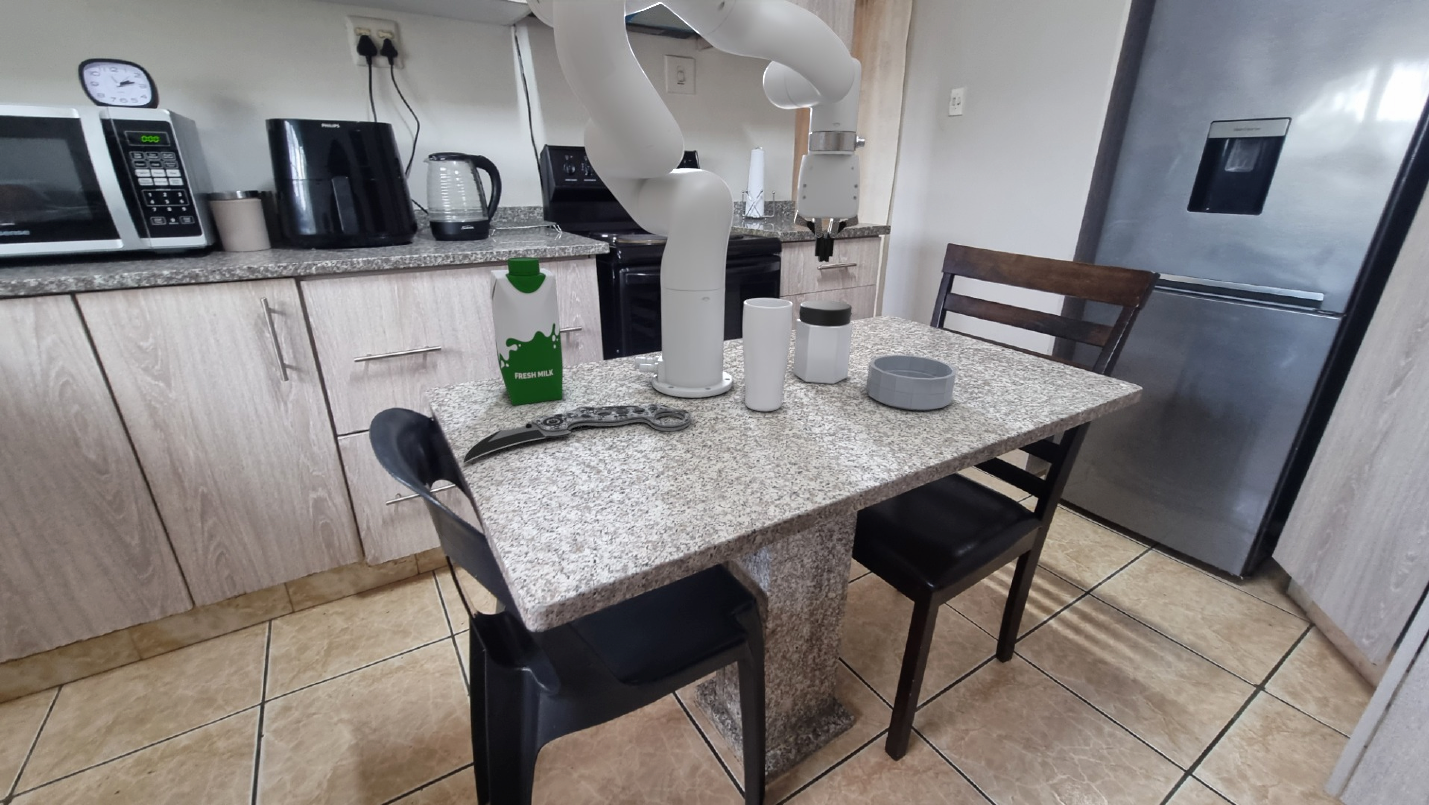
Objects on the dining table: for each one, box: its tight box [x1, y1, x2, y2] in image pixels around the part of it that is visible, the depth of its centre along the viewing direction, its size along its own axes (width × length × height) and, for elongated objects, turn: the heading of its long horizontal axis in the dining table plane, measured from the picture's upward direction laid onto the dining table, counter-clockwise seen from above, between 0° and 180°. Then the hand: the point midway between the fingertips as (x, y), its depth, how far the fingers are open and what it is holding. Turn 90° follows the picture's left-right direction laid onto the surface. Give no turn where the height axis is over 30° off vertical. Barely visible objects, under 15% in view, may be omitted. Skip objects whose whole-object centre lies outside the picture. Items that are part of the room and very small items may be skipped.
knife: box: [462, 403, 692, 464], centre depth 73 cm, size 28×2×10 cm
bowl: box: [865, 354, 958, 411], centre depth 87 cm, size 12×12×5 cm
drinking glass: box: [741, 297, 794, 412], centre depth 81 cm, size 7×7×15 cm
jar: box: [792, 299, 854, 385], centre depth 95 cm, size 9×8×12 cm
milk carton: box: [489, 256, 564, 406], centre depth 83 cm, size 9×9×20 cm
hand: (823, 260), depth 101 cm, fingers closed
